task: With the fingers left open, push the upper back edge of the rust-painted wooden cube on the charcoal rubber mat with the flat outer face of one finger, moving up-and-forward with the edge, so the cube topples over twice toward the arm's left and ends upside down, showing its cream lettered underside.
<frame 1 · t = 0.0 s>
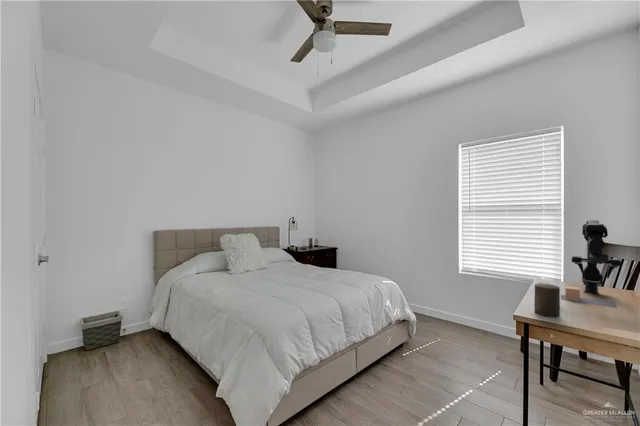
hand: (595, 277, 152), 15 cm above the table, tool pointing down, fingers open, 9 cm apart
pillar candle: (546, 314, 140), on the table
mat: (587, 301, 158), on the table
cube: (572, 298, 162), resting on mat
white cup: (546, 302, 158), on the table
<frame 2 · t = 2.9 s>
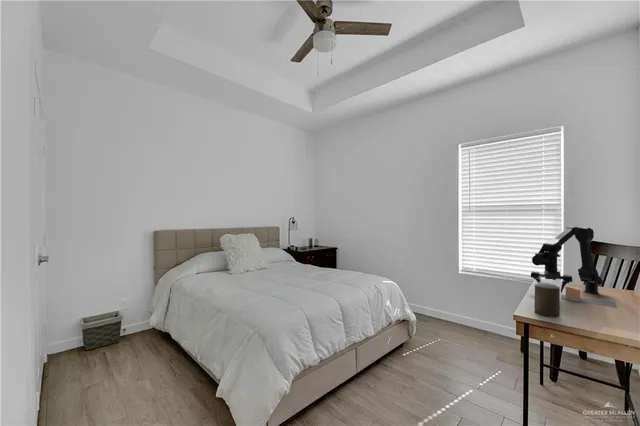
hand: (550, 291, 168), 3 cm above the table, tool pointing down, fingers open, 9 cm apart
cube: (572, 298, 162), resting on mat, touching gripper
everything else where it was.
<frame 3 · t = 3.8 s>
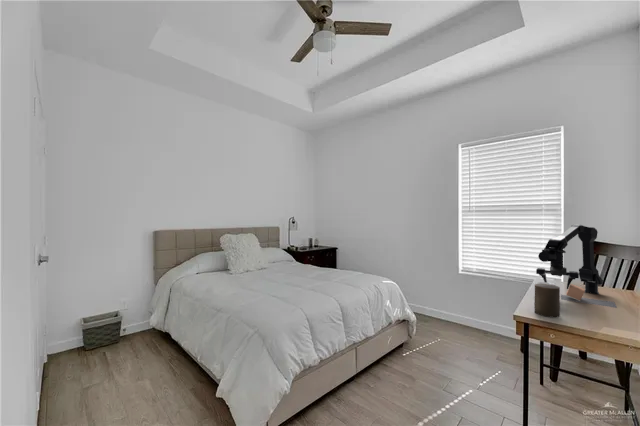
hand: (556, 287, 166), 5 cm above the table, tool pointing down, fingers open, 9 cm apart
cube: (572, 296, 162), point 1 cm above the table, tilted 19°, touching gripper, mat
everything else where it was.
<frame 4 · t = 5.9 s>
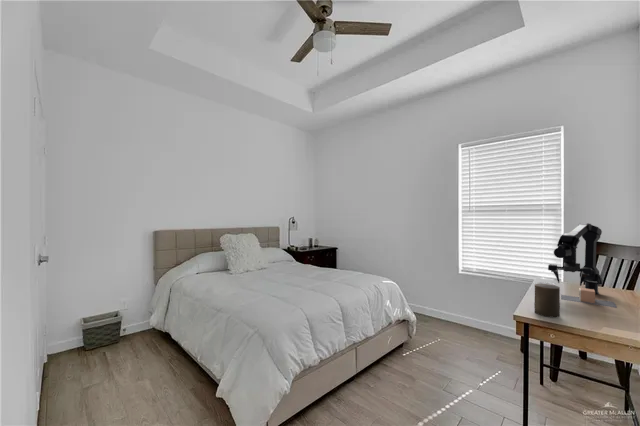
hand: (569, 284, 163), 8 cm above the table, tool pointing down, fingers open, 9 cm apart
cube: (579, 294, 160), point 3 cm above the table, tilted 90°, touching mat
everything else where it was.
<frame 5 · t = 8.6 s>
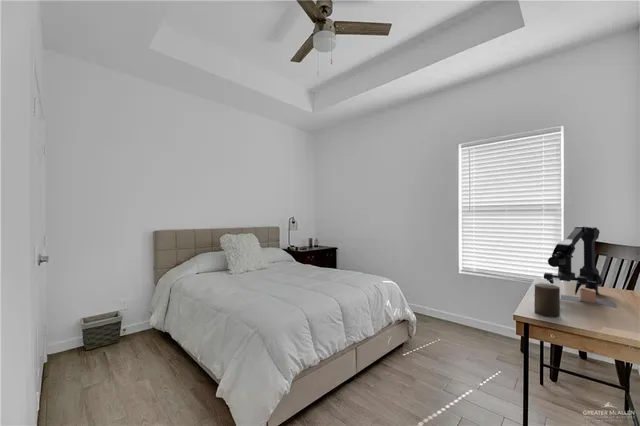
hand: (564, 293, 164), 3 cm above the table, tool pointing down, fingers open, 9 cm apart
cube: (580, 293, 160), point 4 cm above the table, tilted 93°, touching gripper, mat
everything else where it was.
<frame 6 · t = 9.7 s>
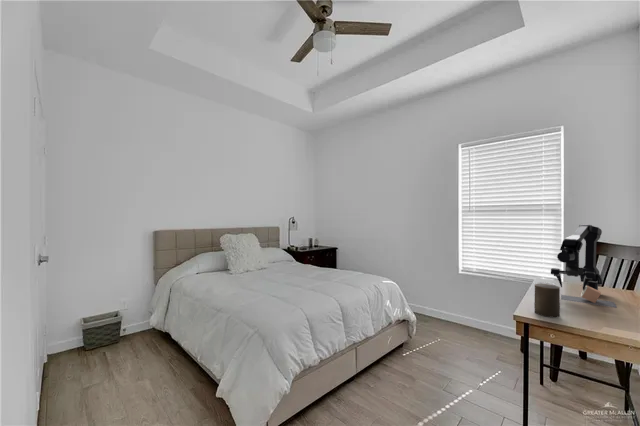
hand: (572, 288, 162), 6 cm above the table, tool pointing down, fingers open, 9 cm apart
cube: (583, 291, 159), point 5 cm above the table, tilted 113°, touching gripper, mat
everything else where it was.
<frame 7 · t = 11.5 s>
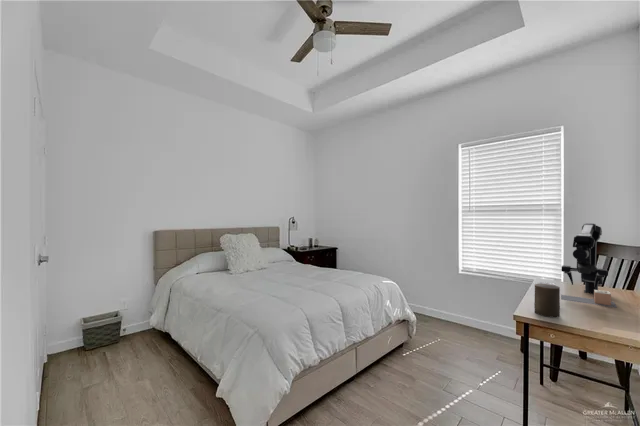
hand: (583, 286, 159), 8 cm above the table, tool pointing down, fingers open, 9 cm apart
cube: (602, 291, 154), point 6 cm above the table, tilted 180°, touching mat
everything else where it was.
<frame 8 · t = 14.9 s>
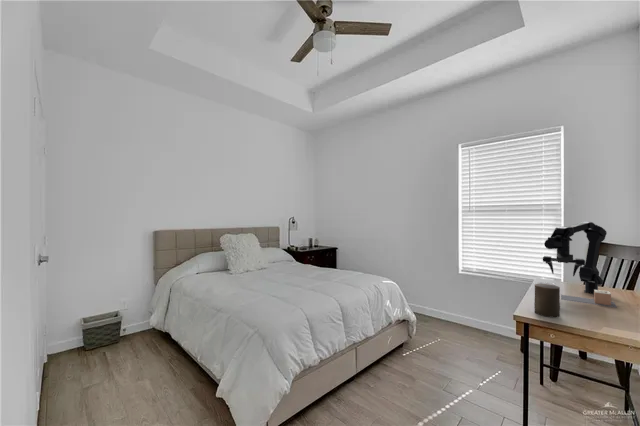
hand: (563, 275, 169), 12 cm above the table, tool pointing down, fingers open, 9 cm apart
nothing on the table moved.
at the end: cube tilted 180°; cube inside the target area (0.5 cm from its centre), point 6.4 cm above the table; cube moved 13.4 cm from its start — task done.
